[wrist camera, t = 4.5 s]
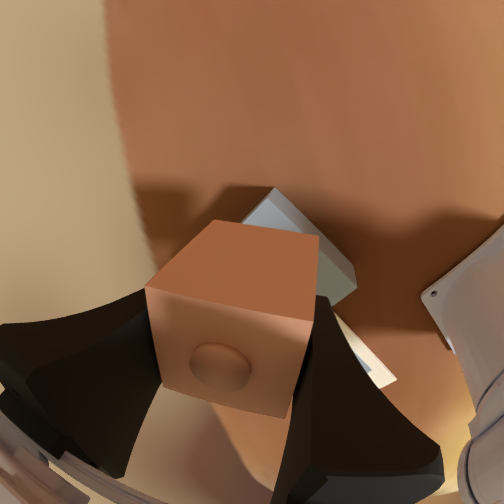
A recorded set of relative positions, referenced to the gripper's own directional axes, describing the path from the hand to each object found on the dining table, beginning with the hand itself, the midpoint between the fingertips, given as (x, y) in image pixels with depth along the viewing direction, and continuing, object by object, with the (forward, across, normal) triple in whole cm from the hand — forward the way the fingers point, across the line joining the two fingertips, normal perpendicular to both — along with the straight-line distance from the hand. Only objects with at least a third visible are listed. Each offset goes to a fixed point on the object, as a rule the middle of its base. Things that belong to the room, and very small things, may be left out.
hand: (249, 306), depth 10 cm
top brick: (+2, 0, 0) cm, 2 cm away
